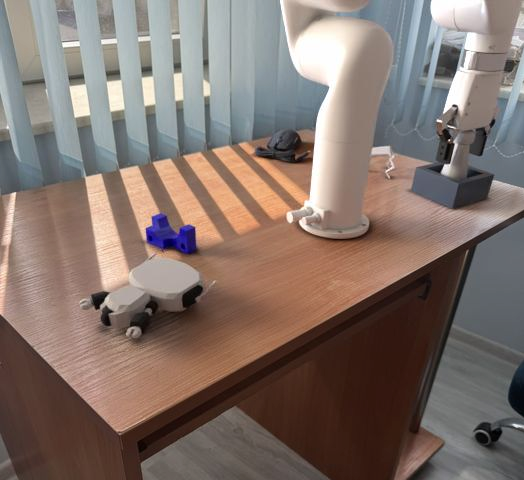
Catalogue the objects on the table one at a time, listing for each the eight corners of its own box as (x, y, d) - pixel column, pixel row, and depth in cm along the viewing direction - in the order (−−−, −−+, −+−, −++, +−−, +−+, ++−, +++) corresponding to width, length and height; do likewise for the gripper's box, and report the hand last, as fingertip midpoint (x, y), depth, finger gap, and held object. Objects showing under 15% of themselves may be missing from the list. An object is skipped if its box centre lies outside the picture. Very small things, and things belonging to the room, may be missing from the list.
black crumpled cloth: (327, 147, 132) (328, 130, 130) (296, 165, 120) (297, 147, 117) (284, 139, 137) (285, 123, 134) (250, 156, 124) (250, 138, 122)
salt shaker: (460, 190, 110) (477, 126, 102) (465, 200, 106) (484, 134, 98) (432, 188, 111) (447, 124, 103) (436, 198, 106) (453, 132, 98)
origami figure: (389, 183, 112) (393, 160, 109) (352, 176, 115) (355, 153, 112) (404, 168, 121) (408, 146, 118) (369, 161, 124) (373, 140, 121)
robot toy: (138, 359, 63) (222, 302, 72) (131, 330, 60) (220, 274, 69) (77, 321, 69) (162, 272, 78) (69, 292, 66) (157, 246, 75)
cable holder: (147, 242, 86) (144, 219, 84) (162, 235, 88) (160, 213, 86) (180, 257, 82) (179, 233, 80) (196, 249, 85) (195, 226, 82)
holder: (452, 209, 102) (458, 183, 99) (410, 191, 109) (415, 167, 106) (487, 198, 107) (494, 174, 104) (445, 182, 114) (451, 159, 111)
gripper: (495, 55, 100) (471, 146, 110) (434, 62, 92) (414, 160, 102) (530, 61, 95) (501, 156, 105) (469, 69, 87) (444, 171, 98)
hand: (459, 158), depth 104 cm, fingers open, 9 cm apart
